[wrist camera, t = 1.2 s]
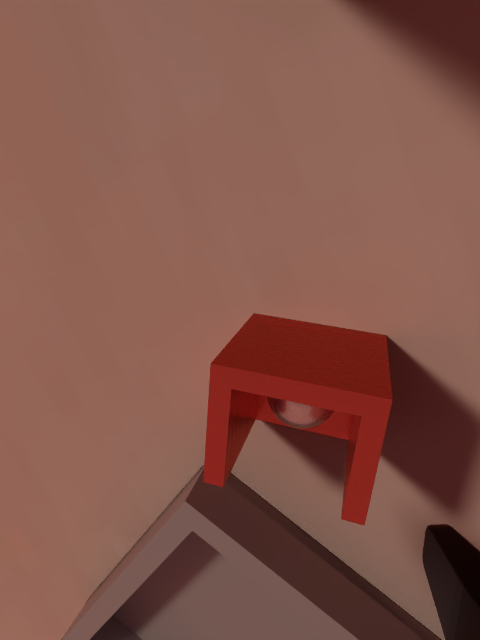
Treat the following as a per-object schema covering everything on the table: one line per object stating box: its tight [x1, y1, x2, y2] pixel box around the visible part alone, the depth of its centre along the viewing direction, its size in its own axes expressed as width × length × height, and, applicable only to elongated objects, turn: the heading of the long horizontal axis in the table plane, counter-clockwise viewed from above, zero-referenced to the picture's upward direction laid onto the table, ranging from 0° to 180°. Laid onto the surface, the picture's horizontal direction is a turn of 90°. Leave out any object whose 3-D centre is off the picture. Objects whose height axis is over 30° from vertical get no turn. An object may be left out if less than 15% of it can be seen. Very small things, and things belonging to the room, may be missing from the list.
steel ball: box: [267, 397, 334, 429], centre depth 18 cm, size 3×3×3 cm
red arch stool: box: [203, 313, 393, 525], centre depth 18 cm, size 6×5×6 cm
